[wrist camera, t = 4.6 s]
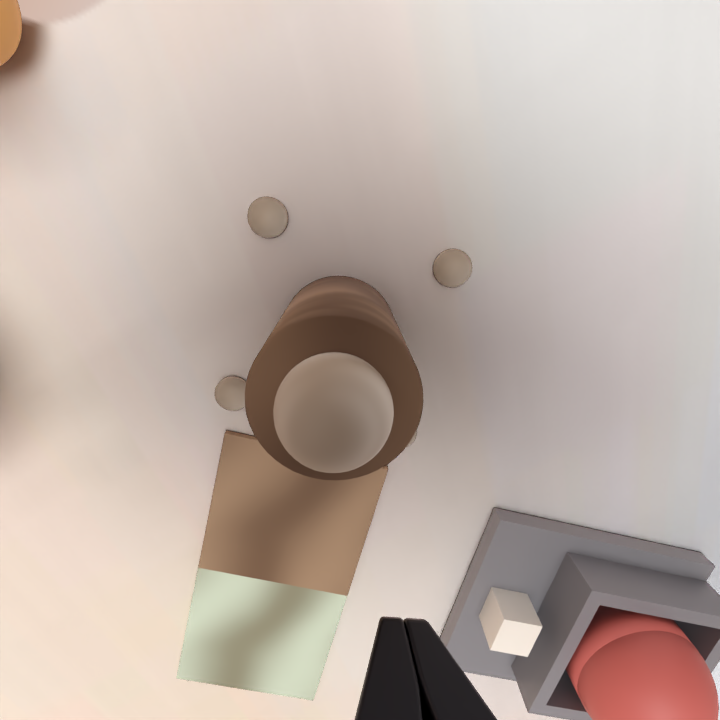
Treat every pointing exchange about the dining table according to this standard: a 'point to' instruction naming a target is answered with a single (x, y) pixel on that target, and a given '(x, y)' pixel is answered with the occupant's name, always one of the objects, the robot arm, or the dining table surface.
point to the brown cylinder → (334, 383)
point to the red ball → (641, 670)
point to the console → (568, 602)
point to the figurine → (9, 29)
